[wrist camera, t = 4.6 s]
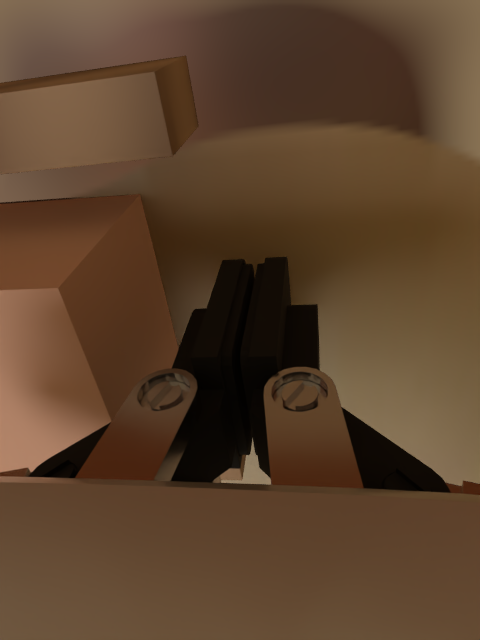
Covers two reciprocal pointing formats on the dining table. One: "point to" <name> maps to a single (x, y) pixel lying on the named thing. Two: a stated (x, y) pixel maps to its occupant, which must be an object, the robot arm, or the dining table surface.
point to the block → (74, 320)
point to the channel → (98, 121)
